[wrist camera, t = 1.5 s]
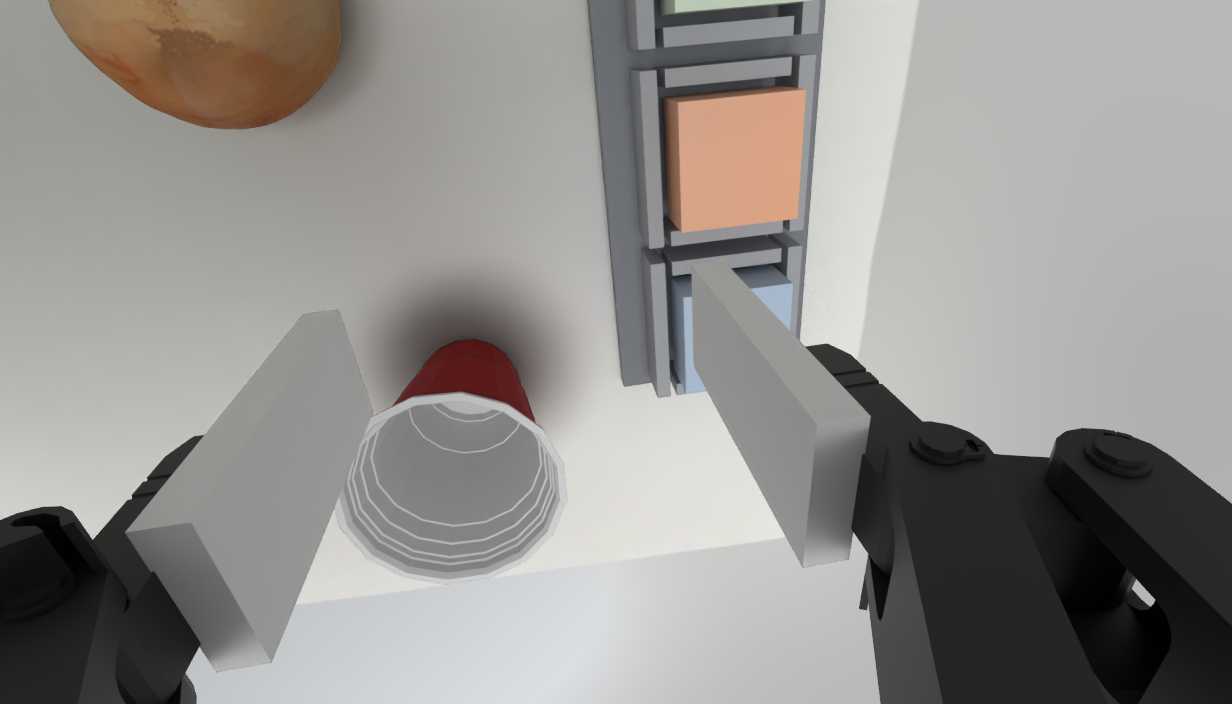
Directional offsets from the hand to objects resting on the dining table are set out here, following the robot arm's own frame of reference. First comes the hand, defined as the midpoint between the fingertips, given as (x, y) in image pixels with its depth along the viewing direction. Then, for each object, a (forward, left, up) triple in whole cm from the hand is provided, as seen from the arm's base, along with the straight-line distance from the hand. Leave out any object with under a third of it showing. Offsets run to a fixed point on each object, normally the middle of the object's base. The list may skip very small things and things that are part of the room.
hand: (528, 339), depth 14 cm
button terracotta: (+6, +8, -18) cm, 21 cm away
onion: (-14, -3, -21) cm, 26 cm away
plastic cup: (+6, -12, -21) cm, 25 cm away
